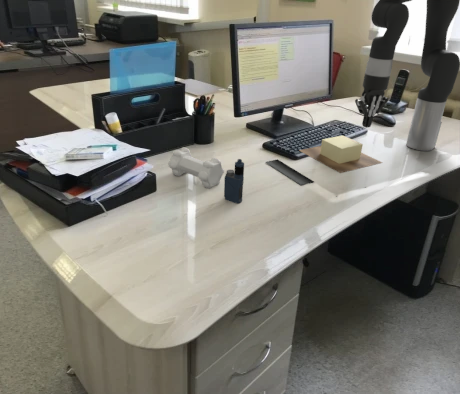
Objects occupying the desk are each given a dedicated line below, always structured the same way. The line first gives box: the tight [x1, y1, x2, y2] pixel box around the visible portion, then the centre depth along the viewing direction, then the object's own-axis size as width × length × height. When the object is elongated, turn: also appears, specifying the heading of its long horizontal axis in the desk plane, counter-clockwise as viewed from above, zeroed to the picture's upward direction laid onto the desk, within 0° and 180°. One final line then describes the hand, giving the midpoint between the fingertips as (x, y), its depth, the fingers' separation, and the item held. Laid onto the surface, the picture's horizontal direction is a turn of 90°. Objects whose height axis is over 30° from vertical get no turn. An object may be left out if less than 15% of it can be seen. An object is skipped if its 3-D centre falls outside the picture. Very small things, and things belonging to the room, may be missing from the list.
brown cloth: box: [298, 145, 383, 174], centre depth 140 cm, size 18×20×2 cm
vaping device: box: [223, 158, 245, 204], centre depth 111 cm, size 3×5×12 cm, turn 58°
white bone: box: [167, 146, 225, 189], centre depth 123 cm, size 15×9×8 cm, turn 52°
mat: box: [265, 159, 315, 186], centre depth 133 cm, size 14×18×1 cm
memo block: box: [320, 135, 364, 164], centre depth 139 cm, size 9×9×5 cm
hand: (366, 126), depth 141 cm, fingers closed
